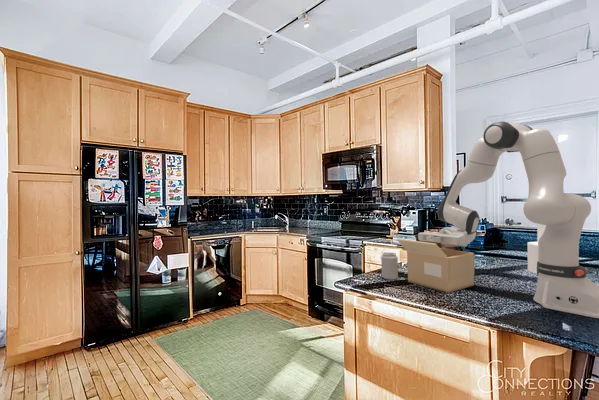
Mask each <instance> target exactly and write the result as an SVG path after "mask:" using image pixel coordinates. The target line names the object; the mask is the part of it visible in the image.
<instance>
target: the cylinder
mask: <svg viewBox="0 0 599 400" xmlns="http://www.w3.org/2000/svg"><path fill="white" fill-rule="evenodd" d="M536 227H537V228H536V229H537V230H536V231H537V232H536V235H537V241H528V242H526V243H527V244H526V245H527V271H528V272H530V273H534V274H537V262H538V241H539V238H540V237H541V236H542V235H543V233H544V230H545V227H546V225H541V224H537V223H536Z"/></svg>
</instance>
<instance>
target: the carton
mask: <svg viewBox="0 0 599 400" xmlns="http://www.w3.org/2000/svg"><path fill="white" fill-rule="evenodd" d="M439 248H440V249H441V250H442V251H443V252H444V254H445V255H446V256H447V257H440V256H434V255H428V254H422V253H416V252H410V251H407V250H406V258H407V261H406V262H407V265H406V267H407V268H406V269H407V282H408V283H410V284H411V283H412V284H415V285H418V286H419V285H420V286H422V287H427V288H430V289H433V290H437V291H441V292H445V293H452V292H456V291H459V290H463V289H466V288H469V287H473V286H475V283H474V281H475V253H474V252H470V251H464V250H463V251H462V250H457V249H449V248H443V247H439Z"/></svg>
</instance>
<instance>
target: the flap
mask: <svg viewBox="0 0 599 400" xmlns="http://www.w3.org/2000/svg"><path fill="white" fill-rule="evenodd" d="M396 241H397V242H398V243H399V244H400V245H401V246H402V247H403V249H405V250H406V252H407V251H410V252H416V253H422V254H428V255H434V256H440V257H447V256H446V255H445V254H444V252H443V251H442V250H441V249H440V248H441V247H439V246H438V243H435V242H427V241H420V240H411V239H403V238H396Z"/></svg>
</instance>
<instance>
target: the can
mask: <svg viewBox="0 0 599 400" xmlns="http://www.w3.org/2000/svg"><path fill="white" fill-rule="evenodd" d="M380 257H381V258H380V259H381V260H380V261H381V277H382V278H383V279H384V280H388V281H395V280H396V279H398V278H399V266H398V265H399V261H398V260H399V259H398V256H397V254H396V253H395V252H383V253H382V255H381V256H380Z"/></svg>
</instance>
